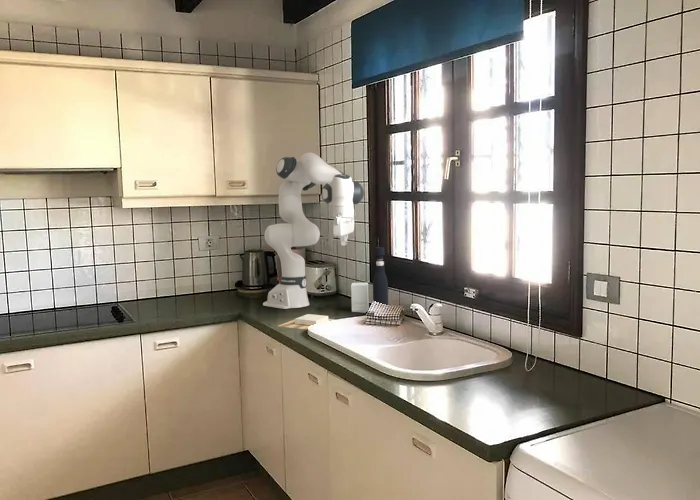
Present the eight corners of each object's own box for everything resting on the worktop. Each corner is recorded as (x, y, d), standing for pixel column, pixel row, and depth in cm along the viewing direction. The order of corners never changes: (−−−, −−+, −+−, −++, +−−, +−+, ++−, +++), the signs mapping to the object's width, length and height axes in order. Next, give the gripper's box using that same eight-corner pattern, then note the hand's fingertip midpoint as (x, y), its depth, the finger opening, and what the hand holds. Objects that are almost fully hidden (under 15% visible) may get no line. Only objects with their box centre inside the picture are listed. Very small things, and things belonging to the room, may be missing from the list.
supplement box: (369, 309, 294) (368, 282, 292) (367, 313, 286) (367, 285, 285) (352, 309, 294) (352, 282, 293) (351, 313, 287) (350, 285, 286)
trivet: (277, 327, 262) (276, 326, 262) (303, 317, 280) (303, 316, 280) (319, 332, 253) (319, 330, 253) (343, 321, 270) (343, 320, 270)
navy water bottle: (390, 315, 281) (389, 246, 277) (384, 318, 275) (383, 248, 271) (376, 314, 283) (375, 246, 280) (371, 317, 277) (369, 247, 274)
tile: (307, 319, 274) (295, 324, 265) (307, 314, 273) (294, 318, 265) (328, 321, 269) (316, 326, 260) (328, 316, 269) (315, 320, 260)
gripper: (343, 214, 264) (344, 248, 266) (356, 211, 284) (357, 242, 285) (329, 214, 266) (329, 247, 267) (342, 211, 285) (343, 242, 287)
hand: (344, 245), depth 277 cm, fingers closed
